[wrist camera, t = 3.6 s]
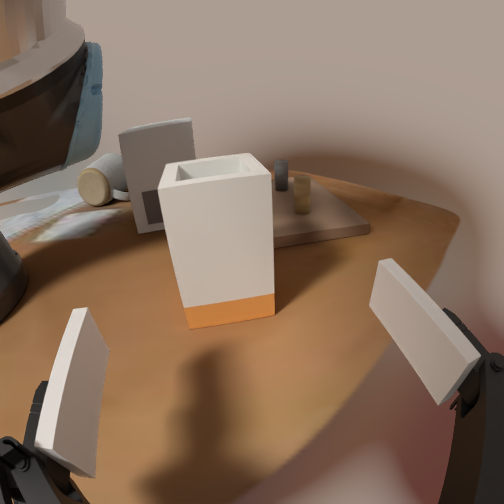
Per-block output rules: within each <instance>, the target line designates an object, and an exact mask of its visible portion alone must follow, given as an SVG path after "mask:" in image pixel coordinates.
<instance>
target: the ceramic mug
mask: <svg viewBox="0 0 504 504" xmlns="http://www.w3.org/2000/svg"><path fill="white" fill-rule="evenodd" d="M77 185H78V191H79V194H80V196H81V197H82V199H83V200H84V201H85V202H86V203H88V204H90V205H92V206H102V205H104V204H106V203H108V202H109V201H111V200H112V199H113V198H115V199H118V200H123V201H129V200H130V196H129V192H123V191H125V190H126V189H127V188H128V186H127V181H126V176H125V171H124V166H123V160H122V155H119V154H116V153H108V154H105V155H104V156H102V157H101V158H99V159H98V160H96V161H95V162H93V163H92V164H90V165H89V166H87V167H86V168H85V169H84V170H83V171H82V172H81V174H80V175H79V178H78V183H77Z"/></svg>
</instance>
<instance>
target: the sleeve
mask: <svg viewBox="0 0 504 504" xmlns="http://www.w3.org/2000/svg"><path fill="white" fill-rule="evenodd" d="M158 195H159V200H160V205H161V211H162V216H163V221H164V226H165V230H166V235H167V240H168V244H169V249H170V253H171V258H172V262H173V266H174V270H175V275H176V279H177V283H178V287H179V291H180V295H181V299H182V302H183V306H184V310H185V314H186V317H187V321H188V324H189V328H190V329H196V328H203V327H209V326H216V325H222V324H228V323H234V322H240V321H246V320H251V319H257V318H262V317H268V316H273V315H275V301H274V250H273V214H272V185H271V173H270V172H269V171H268V170H267V169H266V168H265V167H263V165H262V164H261V163H260V162H258V161H257V160H256V159H255V158H254V157H253V156H252V155H251V154H250V153H245V154H236V155H227V156H218V157H210V158H203V159H195V160H189V161H182V162H176V163H170V164H166V166H165V169H164V172H163V175H162V177H161V180H160V183H159V186H158Z"/></svg>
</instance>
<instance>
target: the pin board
mask: <svg viewBox="0 0 504 504" xmlns="http://www.w3.org/2000/svg"><path fill="white" fill-rule="evenodd" d="M274 168H275V169H274V170H275V179H271V185H272V214H273V248H278V247H285V246H291V245H298V244H304V243H311V242H317V241H324V240H331V239H337V238H344V237H350V236H357V235H363V234H369V229H370V223H369V222H368V221H366V220H365V219H364V218H363V217H362V216H360V215H359V214H358V213H357V212H355V211H354V210H353V209H352V208H350V207H349V206H348V205H347V204H345V203H344V202H343V201H341V200H340V199H339V198H338V197H336V196H335V195H334V194H332V193H331V192H330V191H328V190H327V189H326V188H324V187H323V186H322V185H320V184H319V183H318V182H316V181H315V180H314V179H312V178H311V177H310V176H307V175H297V176H294V177H292V178H288V161H287V160H275V161H274Z"/></svg>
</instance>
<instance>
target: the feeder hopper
mask: <svg viewBox="0 0 504 504" xmlns="http://www.w3.org/2000/svg"><path fill="white" fill-rule="evenodd" d="M118 136H119V142H120V149H121V154H122V160H123V166H124V171H125V176H126V181H127V186H128V191H129V196H130V200H131V205H132V209H133V213H134V218H135V222H136V226H137V230H138V234H140V233H146V232H152V231H158V230H164V229H165V226H164V221H163V216H162V211H161V205H160V200H159V195H158V186H159V183H160V180H161V177H162V175H163V172H164V169H165V166H166V164H170V163H176V162H182V161H189V160H195V159H196V157H195V148H194V140H193V130H192V121H191V117H189V118H183V119H175V120H169V121H164V122H158V123H152V124H147V125H142V126H137V127H132V128H130V129H128V130H126V131H125V132H123V133H121V134H119V135H118Z"/></svg>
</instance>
